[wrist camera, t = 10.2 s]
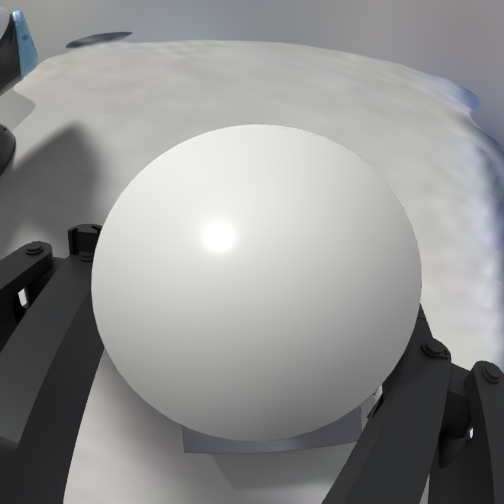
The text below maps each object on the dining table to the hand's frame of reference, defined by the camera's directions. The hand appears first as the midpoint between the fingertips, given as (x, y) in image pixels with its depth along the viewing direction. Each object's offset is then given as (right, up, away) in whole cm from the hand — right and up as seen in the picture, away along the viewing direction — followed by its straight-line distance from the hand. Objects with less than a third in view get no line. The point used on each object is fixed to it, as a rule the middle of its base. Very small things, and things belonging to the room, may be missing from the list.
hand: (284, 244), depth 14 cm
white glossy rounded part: (-1, -4, +2) cm, 5 cm away
